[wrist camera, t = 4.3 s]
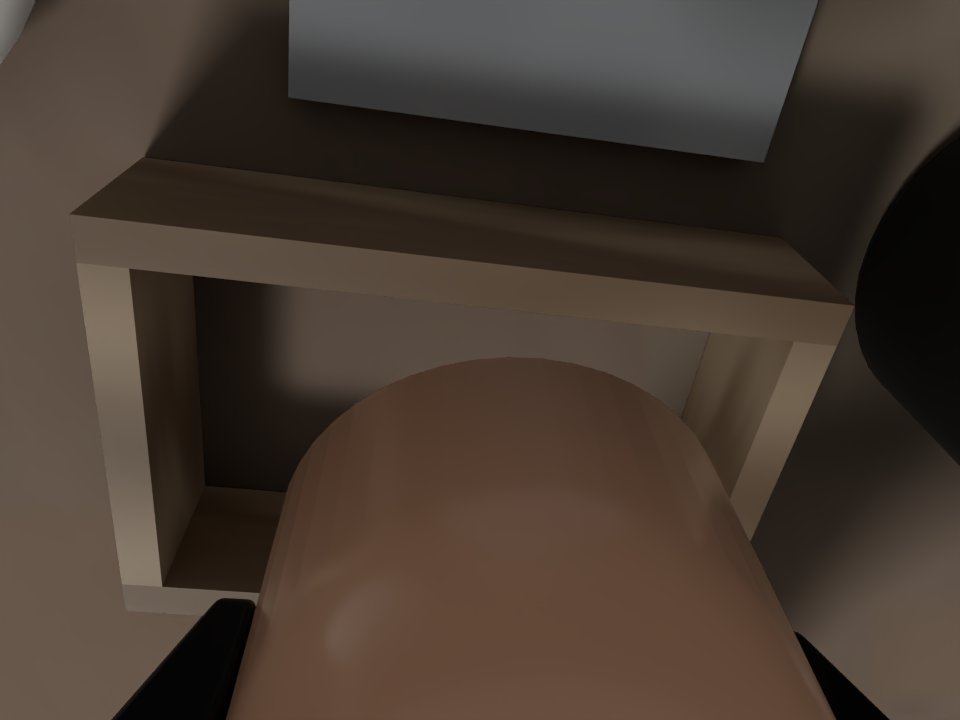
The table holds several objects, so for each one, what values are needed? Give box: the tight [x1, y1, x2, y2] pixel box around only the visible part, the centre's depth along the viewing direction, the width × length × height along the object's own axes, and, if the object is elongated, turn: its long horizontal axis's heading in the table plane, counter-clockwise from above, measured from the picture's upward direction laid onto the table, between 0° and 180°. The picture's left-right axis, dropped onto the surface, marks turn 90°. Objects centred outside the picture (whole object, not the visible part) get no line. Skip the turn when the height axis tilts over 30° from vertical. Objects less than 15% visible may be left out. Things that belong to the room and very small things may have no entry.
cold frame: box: [69, 157, 855, 616], centre depth 19 cm, size 11×16×4 cm
